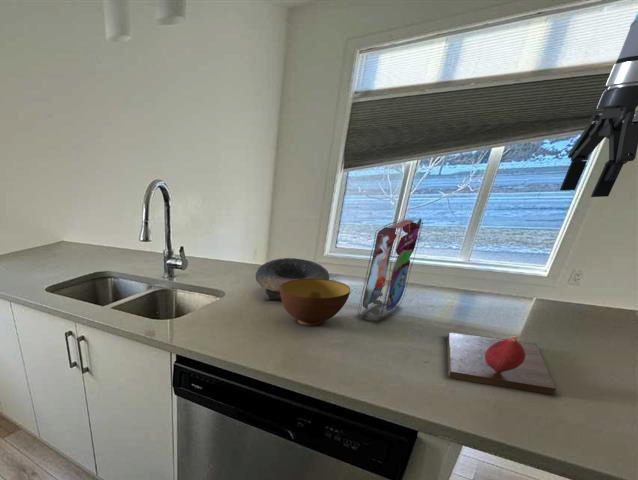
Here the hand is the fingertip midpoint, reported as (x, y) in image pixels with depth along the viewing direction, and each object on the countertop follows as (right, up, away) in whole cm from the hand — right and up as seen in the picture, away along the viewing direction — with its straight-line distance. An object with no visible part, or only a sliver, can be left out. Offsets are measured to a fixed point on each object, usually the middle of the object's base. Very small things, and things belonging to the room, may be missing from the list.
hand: (582, 193), depth 98 cm
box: (-34, -24, +22) cm, 47 cm away
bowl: (-59, -29, +18) cm, 68 cm away
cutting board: (-31, -42, -10) cm, 53 cm away
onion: (-35, -44, -16) cm, 59 cm away
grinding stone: (-55, -16, +39) cm, 70 cm away
